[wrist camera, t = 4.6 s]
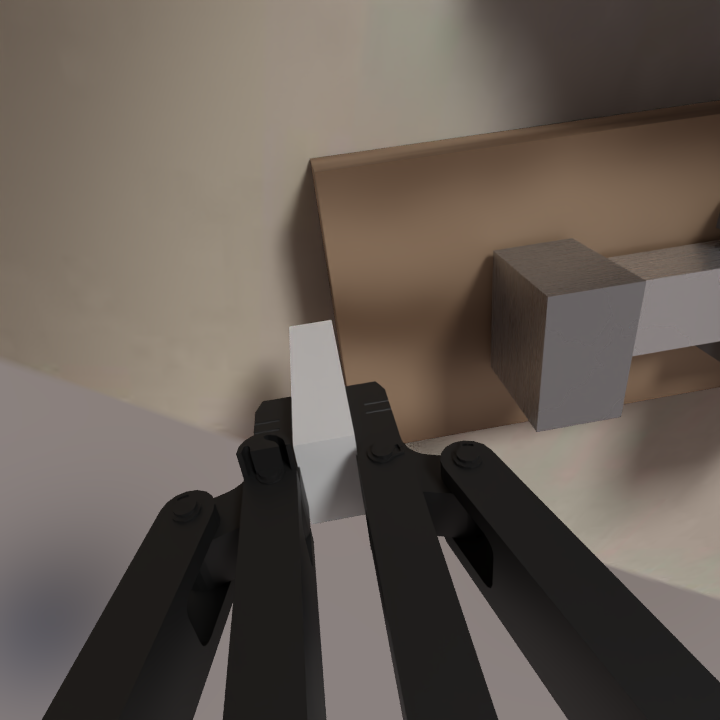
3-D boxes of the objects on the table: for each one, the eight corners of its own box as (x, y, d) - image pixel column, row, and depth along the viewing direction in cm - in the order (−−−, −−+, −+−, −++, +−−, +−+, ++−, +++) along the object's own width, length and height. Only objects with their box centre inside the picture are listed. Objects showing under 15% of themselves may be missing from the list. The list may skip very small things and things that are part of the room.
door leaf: (310, 158, 19) (319, 186, 14) (803, 88, 20) (957, 93, 16) (349, 412, 25) (364, 489, 21) (726, 347, 26) (821, 406, 22)
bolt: (493, 250, 18) (548, 297, 15) (825, 198, 19) (958, 229, 15) (490, 366, 21) (536, 432, 17) (783, 316, 22) (889, 368, 18)
